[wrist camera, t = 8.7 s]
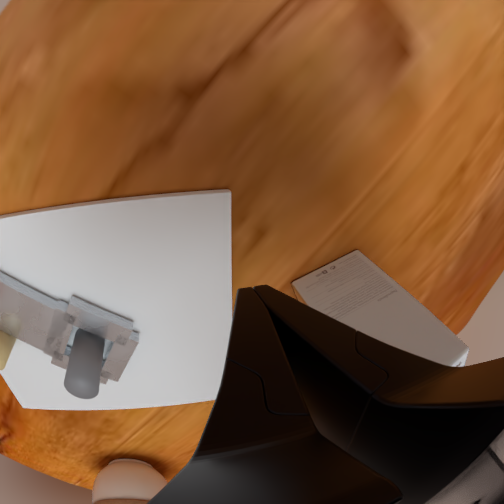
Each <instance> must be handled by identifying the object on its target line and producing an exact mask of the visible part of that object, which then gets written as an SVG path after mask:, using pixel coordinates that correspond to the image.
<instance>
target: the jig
mask: <svg viewBox="0 0 504 504" xmlns="http://www.w3.org/2000/svg"><path fill="white" fill-rule="evenodd" d="M0 272H2V273H4V274H6V275H7V276H9V277H11V278H13V279H15V280H17V281H19V282H20V283H22V284H24V285H26V286H28V287H30V288H32V289H34V290H36V291H38V292H40V293H42V294H44V295H46V296H48V297H50V298H52V299H54V300H56V301H59V300H61V301H63V302H66V303H68V304H69V302H70V299H71V297H72V296H74V297H76V298H78V299H81V300H83V301H85V302H87V303H89V304H92V305H94V306H96V307H99V308H101V309H103V310H105V311H108V312H110V313H113V314H115V315H117V316H120V317H122V318H125V319H127V320H130V321H132V322H133V331H134V332H136V333H139V343H138V345H137V347H136V349H135V351H134V352H133V354H132V356H131V358H130V360H129V362H128V364H127V365H126V367H125V369H124V371H123V373H122V375H121V377H120V379H119V381H118V382H116V381H113V380H110V379H108V381H107V383H106V384H103V383H100V376H101V368H102V360H103V359H104V357H105V355H106V353H107V351H108V348H109V346H110V344H111V342H112V341H110V340H108V339H105V338H102V337H100V336H98V335H95V334H93V333H90V332H88V331H85V330H83V329H81V328H78V327H76V326H74V325H73V328H72V331H71V334H70V337H69V340H68V343H67V346H68V347H70V348H72V349H71V353H70V357H69V361H68V365H67V370H65V369H63V368H61V367H58V366H56V365H54V364H51V361H52V357H51V356H49V355H47V354H45V353H43V352H44V351H42V350H40V349H38V348H35V347H33V346H31V345H29V344H27V343H25V342H23V341H21V340H19V339H17V338H15V337H13V336H11V335H9V334H7V333H5V332H3V331H1V330H0V373H1V375H2V376H3V378H4V380H5V381H6V383H7V384H8V386H9V388H10V389H11V391H12V392H13V394H14V395H15V397H16V398H17V400H18V401H19V403H20V404H21V405H22V407H23V408H31V409H50V410H112V409H132V408H147V407H159V406H169V405H178V404H187V403H195V402H202V401H209V400H216V397H217V394H218V390H219V387H220V384H221V379H222V375H223V370H224V364H225V361H226V360H225V359H226V353H227V348H228V342H229V336H230V330H231V324H232V263H231V191H230V190H229V189H222V190H206V191H192V192H179V193H167V194H156V195H145V196H135V197H125V198H116V199H107V200H99V201H91V202H83V203H76V204H68V205H61V206H55V207H48V208H41V209H35V210H29V211H23V212H17V213H11V214H6V215H0Z"/></svg>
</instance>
